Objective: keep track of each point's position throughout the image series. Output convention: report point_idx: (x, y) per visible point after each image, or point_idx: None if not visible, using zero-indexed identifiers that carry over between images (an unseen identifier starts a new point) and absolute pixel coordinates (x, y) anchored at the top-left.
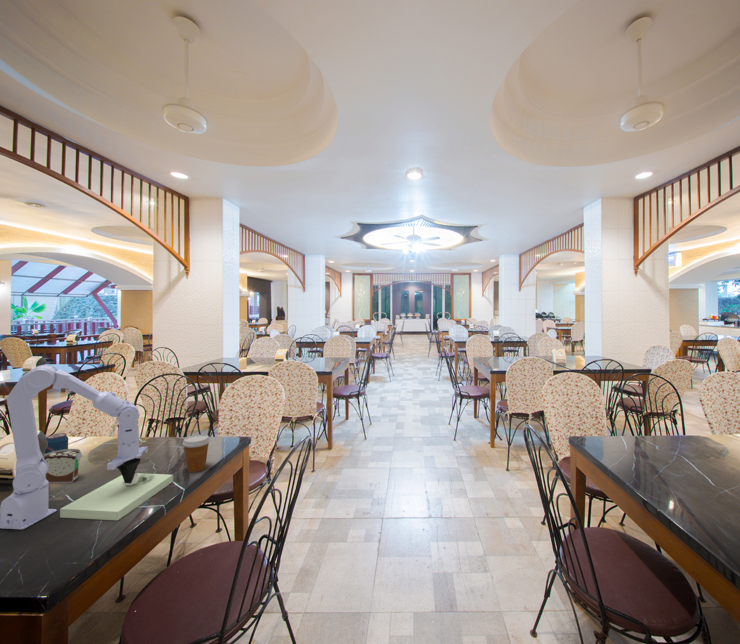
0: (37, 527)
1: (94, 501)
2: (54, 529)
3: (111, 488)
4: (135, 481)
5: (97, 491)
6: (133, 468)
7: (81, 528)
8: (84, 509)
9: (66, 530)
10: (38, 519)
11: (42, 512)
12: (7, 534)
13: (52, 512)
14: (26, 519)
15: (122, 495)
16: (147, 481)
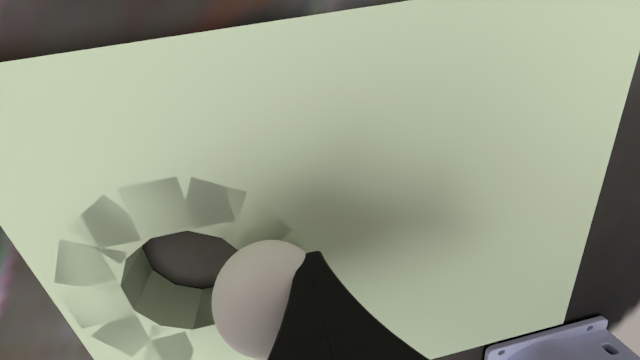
0: (589, 291)
1: (502, 258)
2: (616, 224)
3: None
4: (278, 242)
5: None
6: (344, 355)
7: (634, 119)
8: (587, 220)
9: (636, 170)
10: (559, 333)
11: (555, 356)
12: (616, 325)
13: (507, 344)
14: (604, 350)
15: (425, 172)
16: (175, 202)
